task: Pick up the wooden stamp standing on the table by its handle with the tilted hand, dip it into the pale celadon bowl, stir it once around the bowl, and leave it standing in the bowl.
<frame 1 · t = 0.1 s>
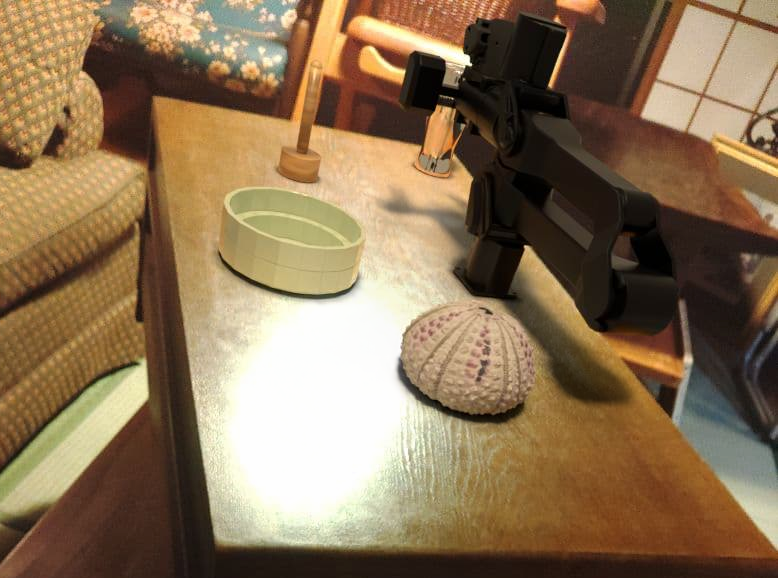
hand: (447, 75, 98), 17 cm above the table, tool horizontal, fingers open, 9 cm apart
beer glass: (431, 171, 123), on the table
bowl: (288, 265, 82), on the table
wooden stamp: (297, 174, 105), on the table
sea urchin shell: (458, 387, 72), on the table
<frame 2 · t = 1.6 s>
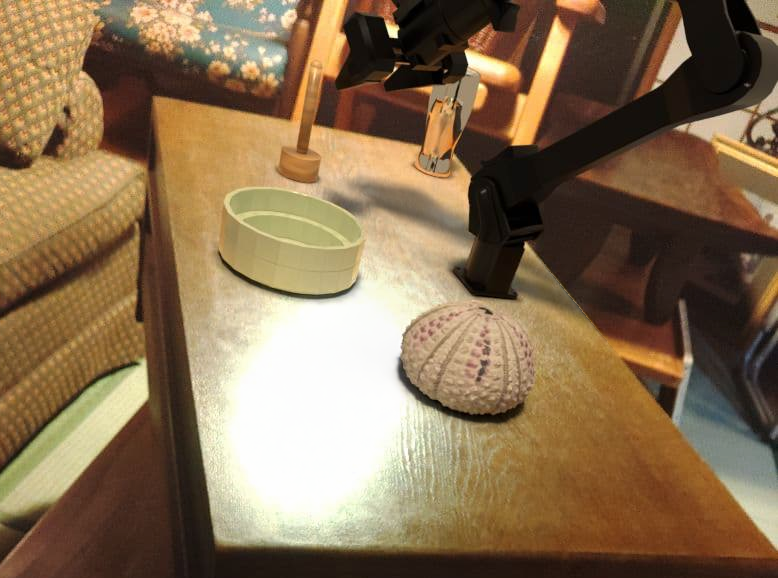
hand: (361, 87, 93), 14 cm above the table, tool tilted 45°, fingers open, 9 cm apart
nothing on the table moved.
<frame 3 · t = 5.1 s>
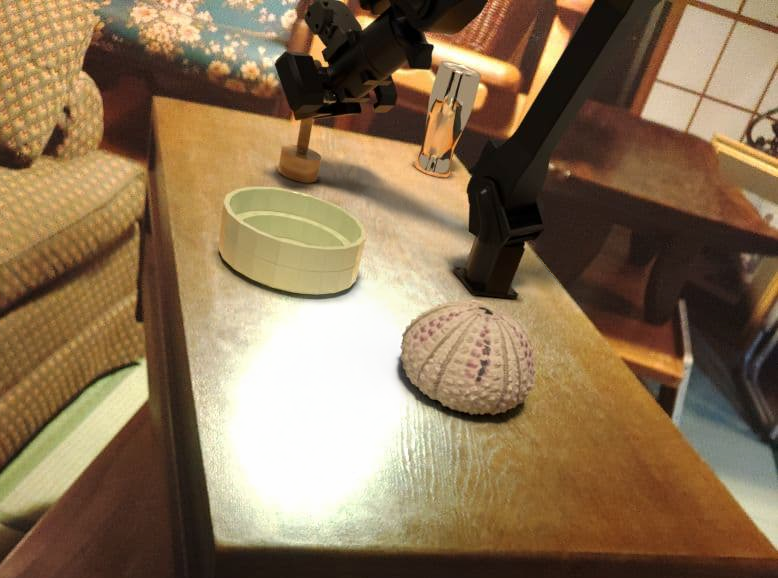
hand: (300, 116, 101), 7 cm above the table, tool tilted 45°, fingers closed on wooden stamp
wooden stamp: (297, 174, 105), on the table, touching gripper
everything else where it was.
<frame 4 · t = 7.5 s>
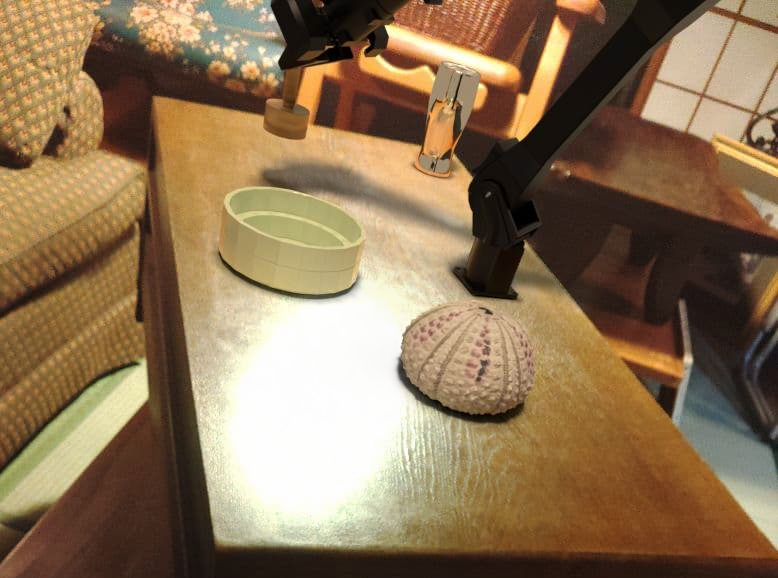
hand: (284, 66, 91), 14 cm above the table, tool tilted 45°, fingers closed on wooden stamp
wooden stamp: (284, 131, 96), point 7 cm above the table, touching gripper
everything else where it was.
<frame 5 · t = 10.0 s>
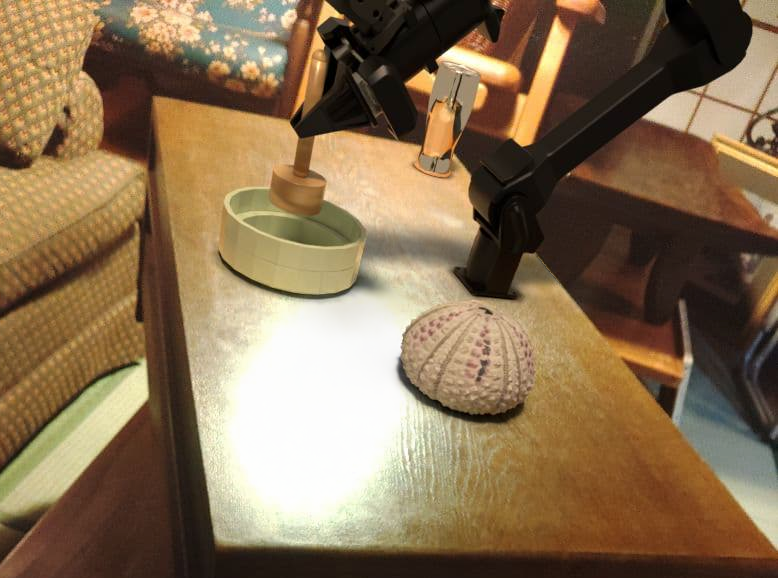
hand: (294, 130, 73), 13 cm above the table, tool tilted 45°, fingers closed on wooden stamp
wooden stamp: (295, 204, 78), point 6 cm above the table, touching gripper
everything else where it was.
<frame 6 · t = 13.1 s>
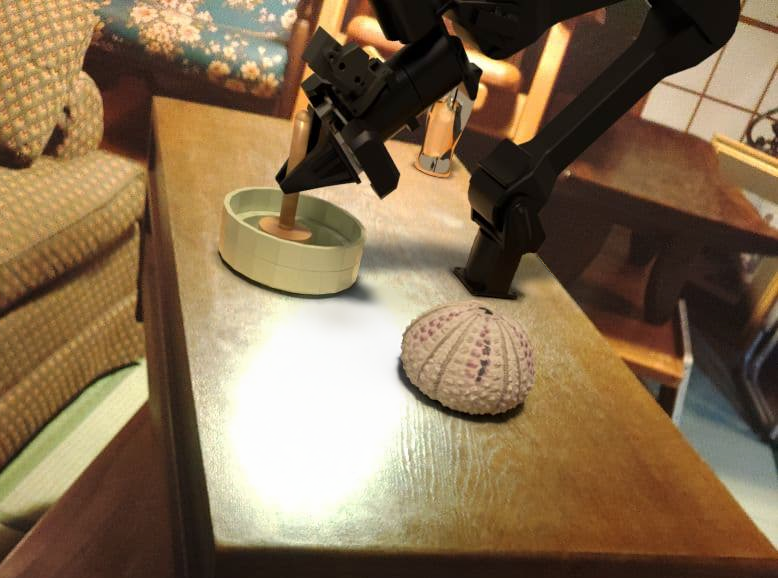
hand: (279, 186, 75), 9 cm above the table, tool tilted 45°, fingers closed on wooden stamp
wooden stamp: (281, 255, 80), point 2 cm above the table, touching gripper
everything else where it was.
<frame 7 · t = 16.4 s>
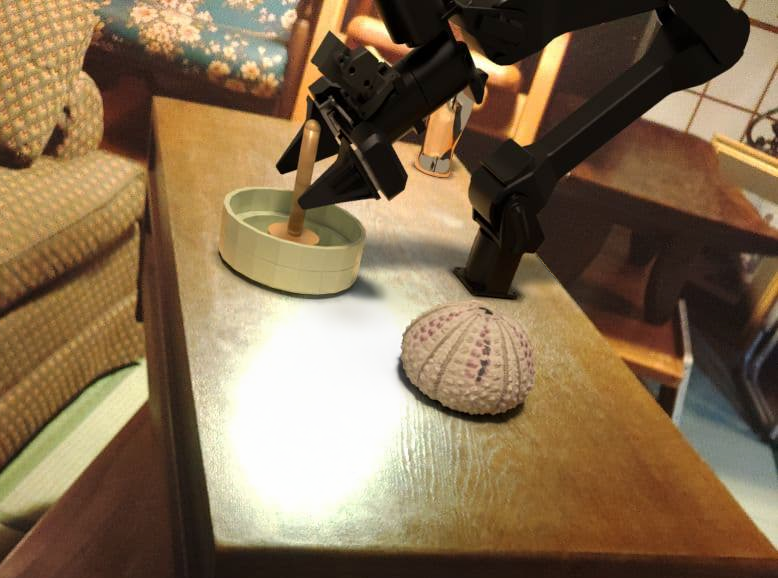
hand: (288, 187, 76), 8 cm above the table, tool tilted 45°, fingers open, 9 cm apart
wooden stamp: (289, 260, 82), point 1 cm above the table, touching bowl
everything else where it was.
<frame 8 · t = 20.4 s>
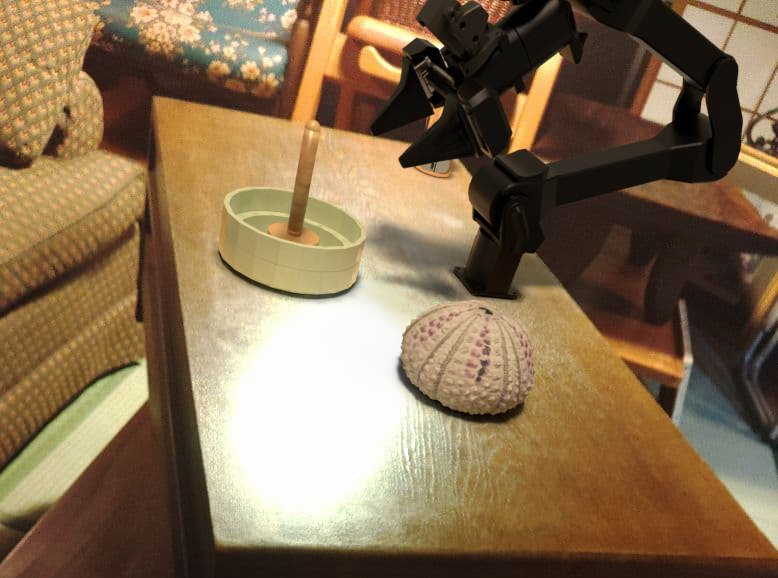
hand: (385, 147, 77), 14 cm above the table, tool tilted 45°, fingers open, 9 cm apart
nothing on the table moved.
at the end: wooden stamp inside the target area in the bowl (0.0 cm from its centre), point 0.6 cm above the bowl's base; wooden stamp tilted 0°; wooden stamp moved 31.3 cm from its start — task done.
